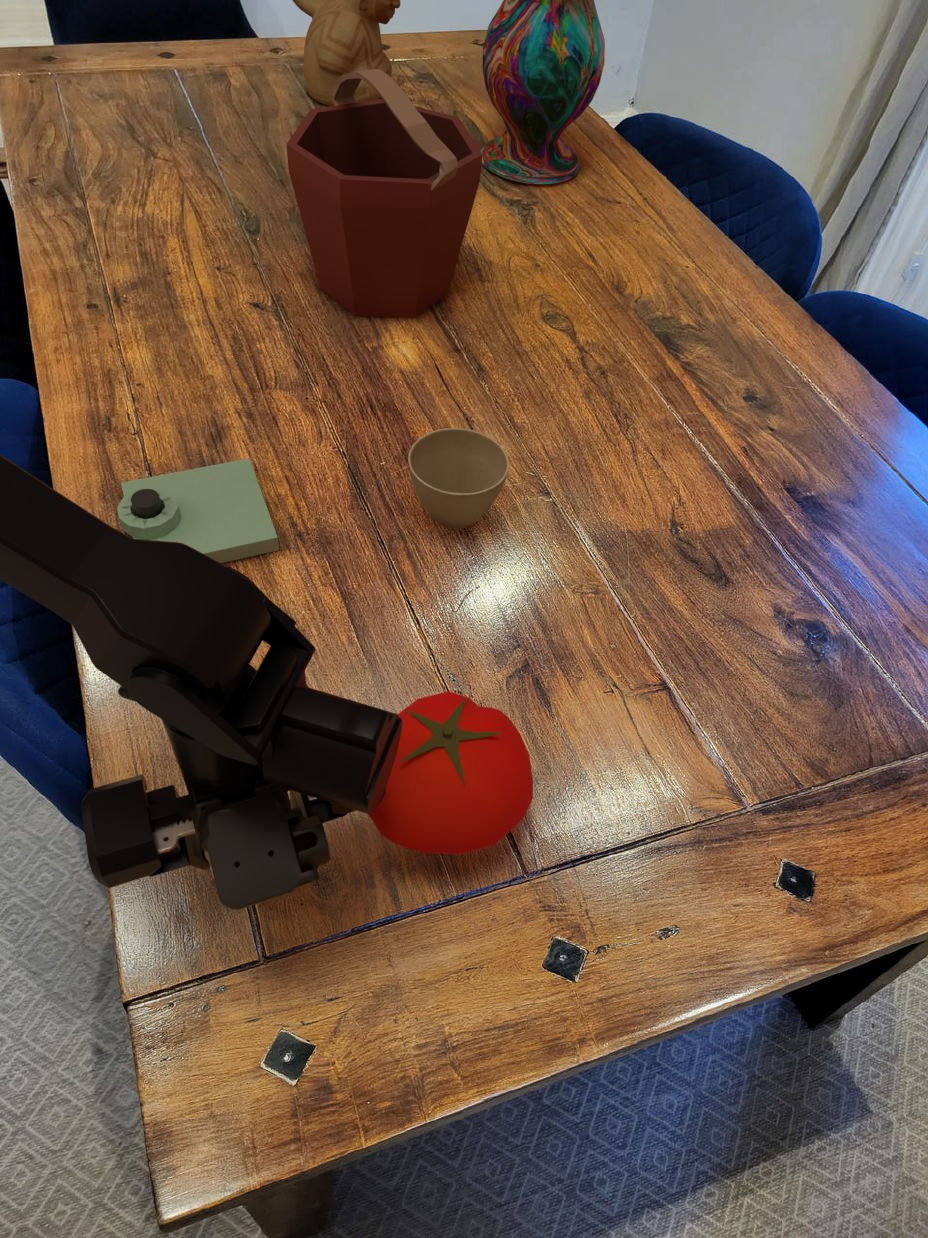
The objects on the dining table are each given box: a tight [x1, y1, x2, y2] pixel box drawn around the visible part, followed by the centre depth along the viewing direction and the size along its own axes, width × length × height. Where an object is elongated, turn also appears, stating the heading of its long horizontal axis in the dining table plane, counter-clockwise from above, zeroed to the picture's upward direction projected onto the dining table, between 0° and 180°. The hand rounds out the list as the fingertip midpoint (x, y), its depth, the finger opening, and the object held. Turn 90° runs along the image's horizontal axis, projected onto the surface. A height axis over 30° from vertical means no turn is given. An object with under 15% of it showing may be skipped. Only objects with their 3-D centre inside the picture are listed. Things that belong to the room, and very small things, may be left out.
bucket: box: [286, 69, 483, 319], centre depth 108 cm, size 24×22×25 cm
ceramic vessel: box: [291, 0, 402, 107], centre depth 145 cm, size 17×20×25 cm
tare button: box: [131, 489, 162, 519], centre depth 84 cm, size 3×3×2 cm
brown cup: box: [407, 427, 510, 530], centre depth 89 cm, size 10×10×7 cm
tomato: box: [367, 690, 534, 855], centre depth 66 cm, size 13×12×11 cm
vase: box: [480, 0, 606, 185], centre depth 132 cm, size 18×18×30 cm
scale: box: [116, 458, 280, 564], centre depth 86 cm, size 14×12×4 cm
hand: (252, 848), depth 64 cm, fingers closed on bowl, 6 cm apart
